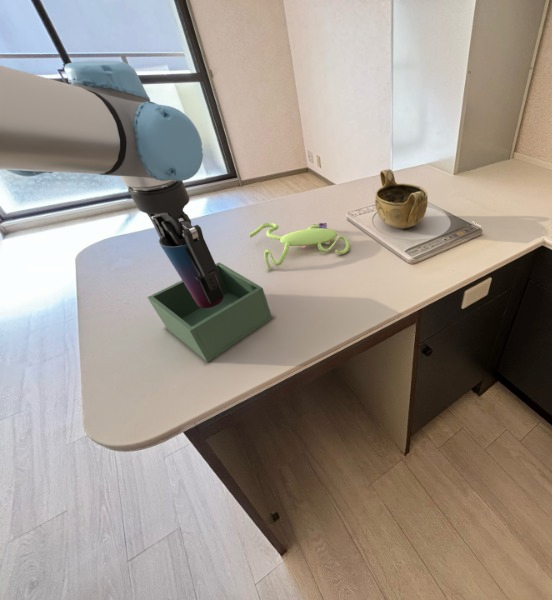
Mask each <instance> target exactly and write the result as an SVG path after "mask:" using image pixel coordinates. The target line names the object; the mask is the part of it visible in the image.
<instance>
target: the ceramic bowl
mask: <svg viewBox="0 0 552 600" xmlns="http://www.w3.org/2000/svg"><path fill="white" fill-rule="evenodd" d="M379 177H380V182H381V187H379V188H378V189H377V190H376V192H375V197H374V203H375V204H374V205H375V210H376V213H377V216H378V218H379V219H380V220H381V221H382V222H383V224H385V225H386V226H388V227H390V228H393V229H397V230H401V229H408V228H411V227H414V226H416V225H417V224H419V223H420V222H421V221H422V220H423V218H424V217H425V215H426V212H427V208H428V202H429V201H428V200H429V199H428V198H429V197H428V192H427V190H426V189H425V188H423V187H422V186H419V185H416V184H411V183H398V182H396V178H395V175H394V172H393V170H392V169H390V168H389V169H382V170H380V173H379Z"/></svg>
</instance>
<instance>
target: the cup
mask: <svg viewBox="0 0 552 600" xmlns="http://www.w3.org/2000/svg"><path fill="white" fill-rule="evenodd" d="M158 243H159V245H160V247H161V248H162V250H163V252H164V253H165V255H166V257H167V259H168V260H169V261H170V263H171V265H172V266H173V268H174V269H175V271H176V272H177V274H178V276H179V277H180V279H181V281H183V282H184V284H185V286H186V287H187V289H188V290H189V292H190V294H191V295H192V297H193V298H194V300H195V302H196V303H197V305H198V306H199V307H201V308H210V307H213V306H216V305H218V304H219V303H220V302H221V301H222V300H223V298H221V299H220V300H218V301H216V302H214V303H213V304H210V303H209V301H208V299H207V297H206V295H205V293H204V291H203V289H202V287H201V285H200V282H199V280H196V279H195V277H197V276H198V273H197V272H196V270H195V269H194V267H193V265H192V264H191V262H190V259H189V257H188V255H187V253H186V250H185V248H188V249H189V247H188V245H187V244H186V245H182V246H175V247H172V246H171V244H170V242H169V240H168V239H167V238H166V237H165V236H164V235H163V236H162V237H161V238H160V237H159V239H158ZM214 276H215V278H216V280H217V283H218V285H219V282H218V279H217V276H216V275H214ZM219 287H220V285H219ZM220 290H221V288H220ZM221 292H222V291H221Z"/></svg>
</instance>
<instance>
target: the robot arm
mask: <svg viewBox="0 0 552 600" xmlns="http://www.w3.org/2000/svg"><path fill="white" fill-rule="evenodd" d="M63 70H64V73H65V75H66V77H67V82H68V83H66V82H63V81H59V80H56V79H52V78H49V77H44V76H42V75H37V74H34V73H29V72H26V71H22V70H19V69H14V68H11V67H7V66H4V65H0V170H6V171H8V172H9V173H12V174H14V175H18V176H21V177H26V178H27V177H36V176H39V175H43V174H47V173H48V174H53V173H64V174H65V173H67V174H85V175H86V174H87V175H101V176H115V177H120V179H121V181H122V182H123V184H124V185H125V186H127V187H128V189H127V191H128V193H129V195H130V196H131V198H132V201H133V202H134V204H135V205H136V208H137V210H139V211H140V212H141V213H145V214H146V215H147V216H148V218H149V219H150V221H151V223H152V225H153V227H154V229H155V231H156V233H157V235H158V237H159V239H160V238H161V237H162V236H163V235H164V236H165V237H166V238H167V239H168V240H169V242H170V244H171V246H172V247H175V246H182V245H186V244H187V245H188V247H189V249H188V248H185V250H186V253H187V255H188V257H189V259H190V262H191V264H192V265H193V267H194V269H195V270H196V272H197V273H198V276H197V277H195V279H196V280H199V282H200V285H201V287H202V289H203V291H204V293H205V295H206V297H207V299H208V301H209V303H210V304H213V303H214V302H216V301H218V300H220V299H221V298H223V297H224V296H223V294H222V292H221V290H220V287H219V285H218V283H217V280H216V278H215V276H214V275H216V274H218V273H219V271H218V269H217V267H216V264H217V263H216V262H215V260H214V258H213V256H212V254H211V251H210V249H209V246H208V245H207V242H206V240H205V238H204V234H203V231H202V228H201V226H200V225H199V224H195V225H192V219H190V217H189V215H188V214H187V213H186V212H185V210H184V208H185V207H186V206H187V205H188V204H189V203H190V196H189V193H188V190H187V188H186V186H185V183H184V181H187V180H190V179H192V178H193V177H194V176H195V175H196V174H197V173H198V172H199V170H200V169H201V167H202V163H203V158H204V154H203V142H202V138H201V135H200V133H199V131H198V128H197V126H195V123H194V122H193V121H192V120H191V119H190V117H188V115H186V114H185V113H184V112H183V111H181V110H179V109H178V108H176V107H174V106H170V105H165V104H158V103H156V102H153V101H151V98H150V97H149V95H148V94H147V91H146V89H145V87H144V85H143V83H142V81H141V79H140V77H139V75H138V73H137V71H136V70H135V68H134V67H133V66H131V65H130V64H128V63H127V62H124V61H119V60H83V61H74V62H68V63H66V64H65V65H64V69H63Z"/></svg>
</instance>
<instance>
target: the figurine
mask: <svg viewBox="0 0 552 600" xmlns="http://www.w3.org/2000/svg"><path fill="white" fill-rule="evenodd" d="M266 228H268V229H267V230H266V236H267V238H269V239H273V240H278V241H279V242H280V243H281V244H283V245H284V247H283V251H282V253H281V255H280V257H279V259H278V260H275V258H274V256H273V254H272V252H271V250H270V249H265V250H264V253H263V256H264V260H265V263H266V266H267V268H268V270H269V271H271V270H272V268H271V265H270V262H269V255H270V258H271V261H272V264H273V265H274V266H276V267H278V266H281V265H282V264H283V263H284V260H285V259H286V257H287V255H288V252H289V248H290V247H301V248H302V249H304V248H306V247H307V246H312V245H313V246H314V245H316V247H317V248H318V250H319V251H320V252H322V253H326V252H328V251H330V250H331V249H332V248H333V247H334V246H335V245H336V243H337V241H338V240H339V239H341V240H343V242H344V244H345V245H344V246H345V247H344V249H343V250H338V249H336V248H335V249H334V251H335V253H336V254H338V255H344V254H347V252H348V251H349V250H350V241H349V239H348V238H347V237H346V236H344V235H339V236H338V232H337V231H336V230H334V229H330V228H328V224H327V222H319V223H318V224H312V225H310V226H309V227H308V228H305V229H300V230H295V231H291V232H289V233H287V234H284V235H277V234H272V232H274V231H278V229H279V225H278V224H277V223H275V222H267V223H262V224H260V225H259V227H257V228H256V229H255V230H253V231H252V232H249V234H248V235H249V238H253V237H254V236H257V234H258V233H260V232H261V231H262V230H264V229H266ZM336 237H337V238H336ZM335 238H336V239H335ZM334 239H335V240H334ZM332 240H334V241H333V243H332V244H331V245H330V243H331V241H332ZM323 243H324V244H325V245H330V246H329V247H328V248H324V246H323V245H322V244H323Z"/></svg>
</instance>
